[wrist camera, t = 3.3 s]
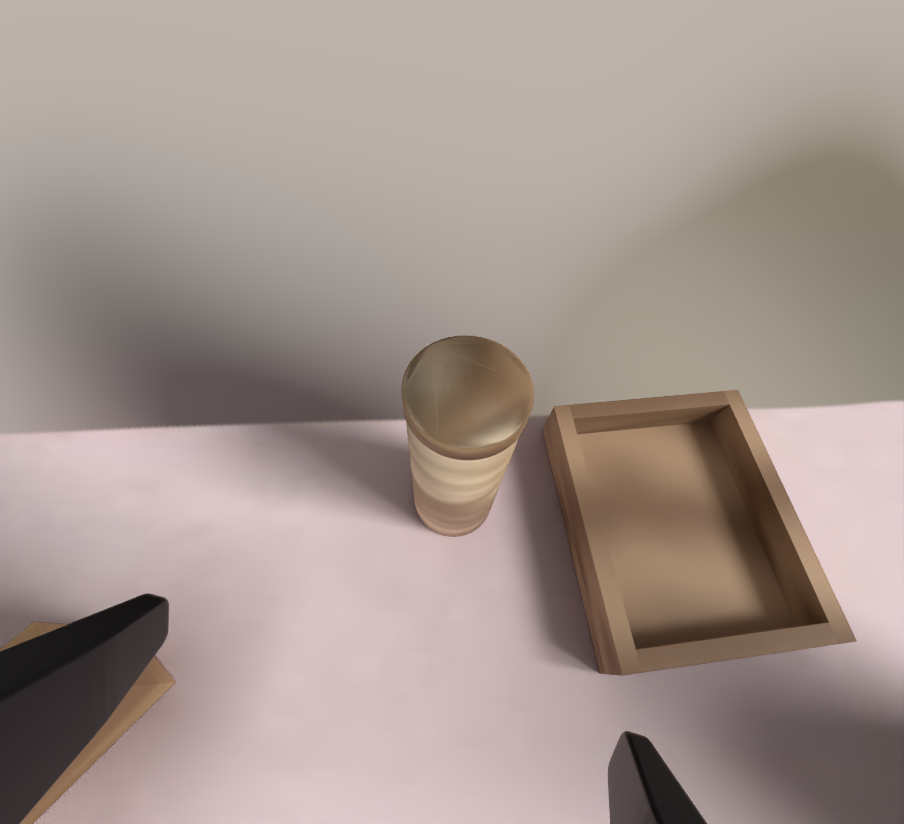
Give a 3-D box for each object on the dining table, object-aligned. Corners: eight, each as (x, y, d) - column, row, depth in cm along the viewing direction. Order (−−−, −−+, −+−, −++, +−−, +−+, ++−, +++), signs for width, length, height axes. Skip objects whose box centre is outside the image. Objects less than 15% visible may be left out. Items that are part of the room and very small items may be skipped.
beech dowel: (457, 554, 23) (476, 477, 13) (396, 500, 24) (373, 392, 14) (508, 494, 24) (559, 385, 15) (449, 446, 25) (460, 315, 16)
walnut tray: (807, 643, 21) (856, 641, 19) (599, 673, 21) (622, 675, 18) (710, 414, 27) (738, 389, 25) (542, 430, 26) (554, 406, 24)
